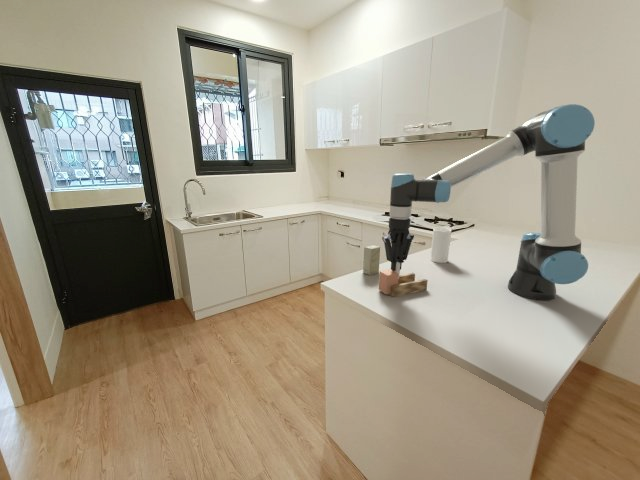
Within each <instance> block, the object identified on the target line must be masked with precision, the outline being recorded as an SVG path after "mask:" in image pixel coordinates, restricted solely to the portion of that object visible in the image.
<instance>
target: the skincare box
mask: <svg viewBox="0 0 640 480" xmlns="http://www.w3.org/2000/svg"><path fill="white" fill-rule="evenodd" d="M380 256H381V246H378V245H375V244H372V245H367V246H364V247H363V267H362V269H363V270H362V273H363V274H366V275H368V276H372V275H376V274H379V273H380V259H381V258H380Z"/></svg>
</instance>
